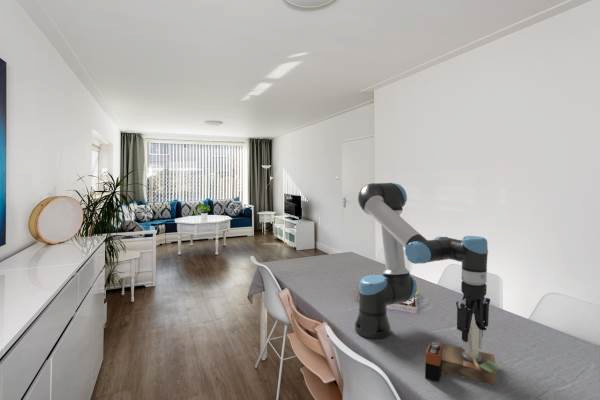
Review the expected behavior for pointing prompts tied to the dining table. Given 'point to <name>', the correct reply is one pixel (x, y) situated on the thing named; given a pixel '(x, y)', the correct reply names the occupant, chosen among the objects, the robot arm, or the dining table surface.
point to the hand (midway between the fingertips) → (472, 348)
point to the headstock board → (468, 364)
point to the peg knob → (473, 346)
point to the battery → (433, 362)
